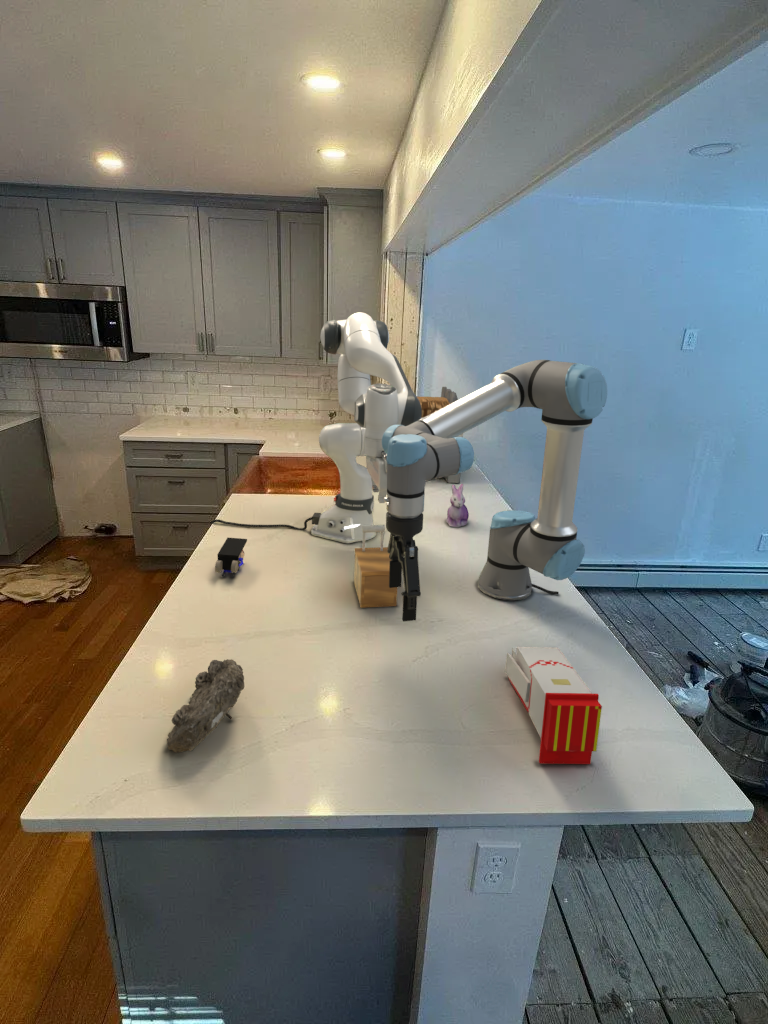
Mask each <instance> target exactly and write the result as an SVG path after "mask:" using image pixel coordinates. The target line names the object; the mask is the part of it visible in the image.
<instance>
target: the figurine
mask: <svg viewBox="0 0 768 1024" xmlns="http://www.w3.org/2000/svg"><path fill="white" fill-rule="evenodd" d="M463 491H464V483H461V484H460V485H459V487H456V485H455V484H452V485H451V496H450V500H449V501H450V506H449V507H448V508H447V514H446V516H447V517H446V523H447V525H448V526H449V527H454V528H460V527H464V526H466V525H468V521H469V517H470V516H469V510H468V507H467V506H466V504H465V503H466V498H465V496H464V492H463Z"/></svg>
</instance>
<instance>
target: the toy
mask: <svg viewBox="0 0 768 1024" xmlns="http://www.w3.org/2000/svg"><path fill="white" fill-rule="evenodd" d="M505 659H506V660H505V667H504V673H505V674H506V676H507V679H508V681H509V682H510V685H511V686H512V688H513V689H514V691H515V693H516V694H517V696H518V698H519V700H520V701H521V703H522V705H523V706H524V708H525V710H526V711H527V713H528V716H529V718H530V720H531V722H532V723H533V726H534V728H535V729H536V732H537V733H538V735H539V737H540V746H539V755H538V764H542V765H543V764H545V765H547V764H549V765H554V764H556V765H591V763H592V756H593V752H597V750H598V749H597V748H598V741H599V732H600V725H601V717H602V708H603V706H602V704H601V703H600V701H599V697H600V694H599V693H593V692H592V690H590V688H589V687H588V685H587V684H586V683H585V681H583V679H582V678H581V676H580V675H579V673H578V672H577V670H576V669H575V668H574V667H573V665H572V664H571V662H569V660H568V659H567V657H566V656H565V653H563V652H562V651H561V649H560V648H559V647H550V646H549V647H548V646H547V647H545V646H517V647H511V653H510V652H507V653H506V658H505Z"/></svg>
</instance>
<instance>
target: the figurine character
mask: <svg viewBox="0 0 768 1024" xmlns="http://www.w3.org/2000/svg"><path fill="white" fill-rule="evenodd" d="M247 542H248V538H240V537H226V539H225V541H224V543H223V544H222V546H221V547H220V549H219V551H218V552H217V560H216V562H215V564H214V572H215V573H221V577H222V578H224V577H225V576H226V574H227V573H230V574H231V573H232V574H231V578H234V577H235V575H236V573H237V572H239V571H240V567H242V566H243V565H244V564H245V562H244V558H245V551H244V547H245V546H246V544H247Z"/></svg>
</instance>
